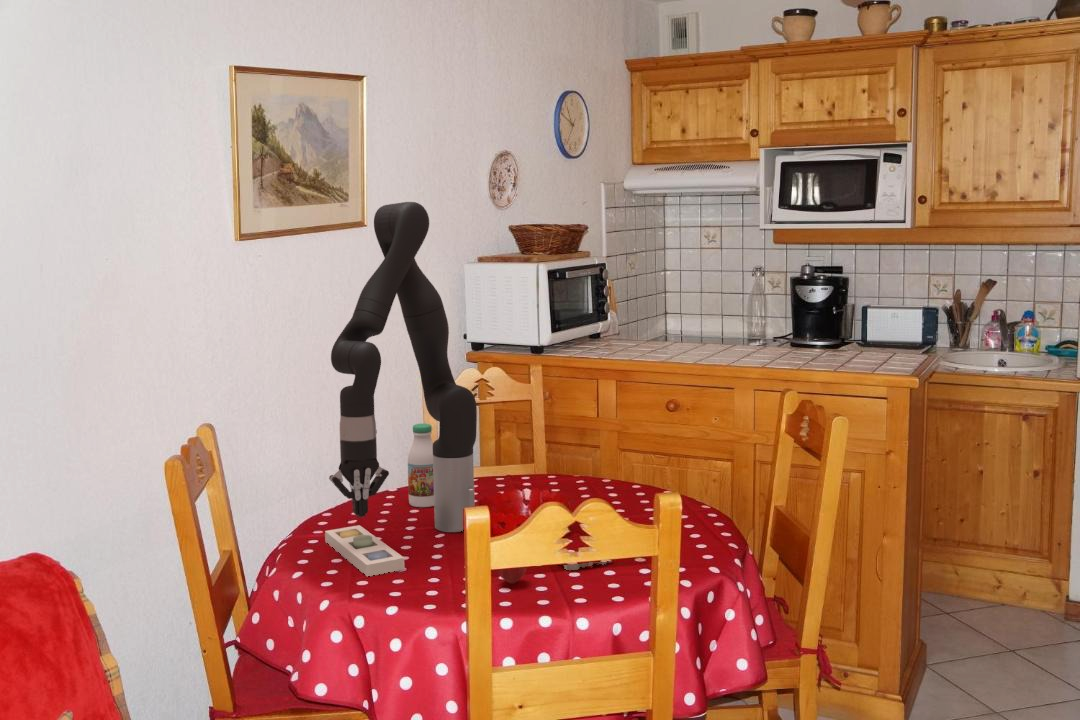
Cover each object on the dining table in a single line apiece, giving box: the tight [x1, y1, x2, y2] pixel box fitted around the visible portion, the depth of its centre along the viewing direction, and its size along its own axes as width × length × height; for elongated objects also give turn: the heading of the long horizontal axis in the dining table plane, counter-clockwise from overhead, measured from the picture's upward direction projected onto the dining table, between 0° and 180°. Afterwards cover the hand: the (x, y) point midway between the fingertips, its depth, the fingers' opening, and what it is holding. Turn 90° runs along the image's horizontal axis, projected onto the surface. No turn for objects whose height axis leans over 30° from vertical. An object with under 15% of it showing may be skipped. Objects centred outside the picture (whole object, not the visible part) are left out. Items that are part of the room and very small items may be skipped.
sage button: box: [353, 535, 373, 549], centre depth 222 cm, size 4×4×2 cm
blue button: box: [368, 551, 388, 561], centre depth 215 cm, size 4×4×2 cm
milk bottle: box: [407, 423, 434, 508], centre depth 259 cm, size 8×8×20 cm
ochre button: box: [340, 530, 359, 538], centre depth 230 cm, size 4×4×2 cm
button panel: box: [324, 524, 405, 578], centre depth 222 cm, size 8×26×2 cm, turn 30°
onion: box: [497, 567, 528, 585], centre depth 204 cm, size 6×6×8 cm
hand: (360, 515), depth 221 cm, fingers closed
